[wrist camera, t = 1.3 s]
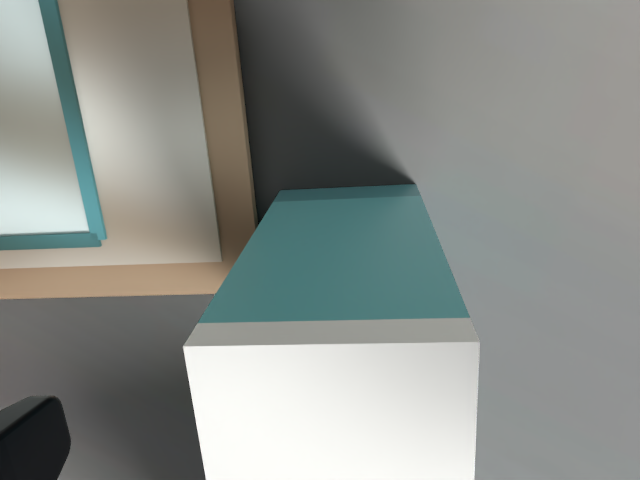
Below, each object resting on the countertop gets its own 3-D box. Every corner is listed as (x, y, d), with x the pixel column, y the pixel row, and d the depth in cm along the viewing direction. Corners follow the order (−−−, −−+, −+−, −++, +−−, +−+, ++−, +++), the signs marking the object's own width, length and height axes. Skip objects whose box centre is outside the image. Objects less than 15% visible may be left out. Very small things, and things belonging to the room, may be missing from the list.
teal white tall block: (416, 307, 15) (470, 567, 7) (291, 310, 15) (219, 561, 8) (416, 184, 14) (479, 342, 6) (280, 190, 14) (183, 347, 6)
